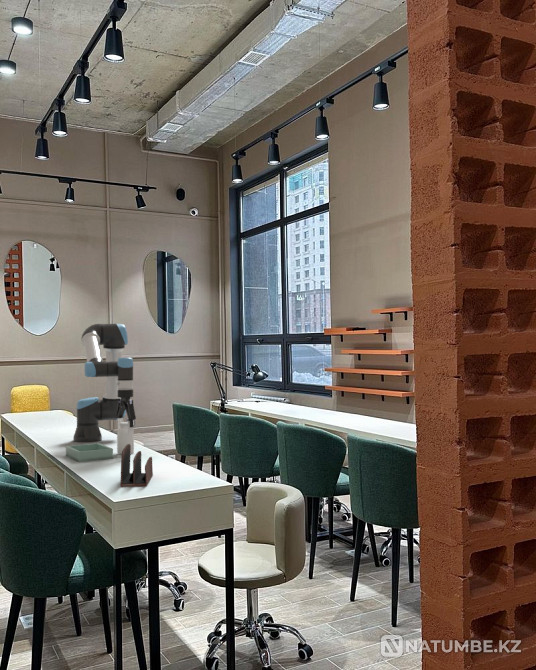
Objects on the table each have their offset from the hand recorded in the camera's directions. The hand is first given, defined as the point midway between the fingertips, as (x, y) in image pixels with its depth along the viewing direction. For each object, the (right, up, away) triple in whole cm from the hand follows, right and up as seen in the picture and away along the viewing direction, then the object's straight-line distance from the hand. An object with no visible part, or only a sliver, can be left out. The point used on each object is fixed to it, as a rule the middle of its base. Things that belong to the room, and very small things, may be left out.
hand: (125, 432), depth 317 cm
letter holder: (+18, -10, -63) cm, 66 cm away
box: (-15, -10, -10) cm, 21 cm away
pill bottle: (0, -10, 0) cm, 10 cm away
